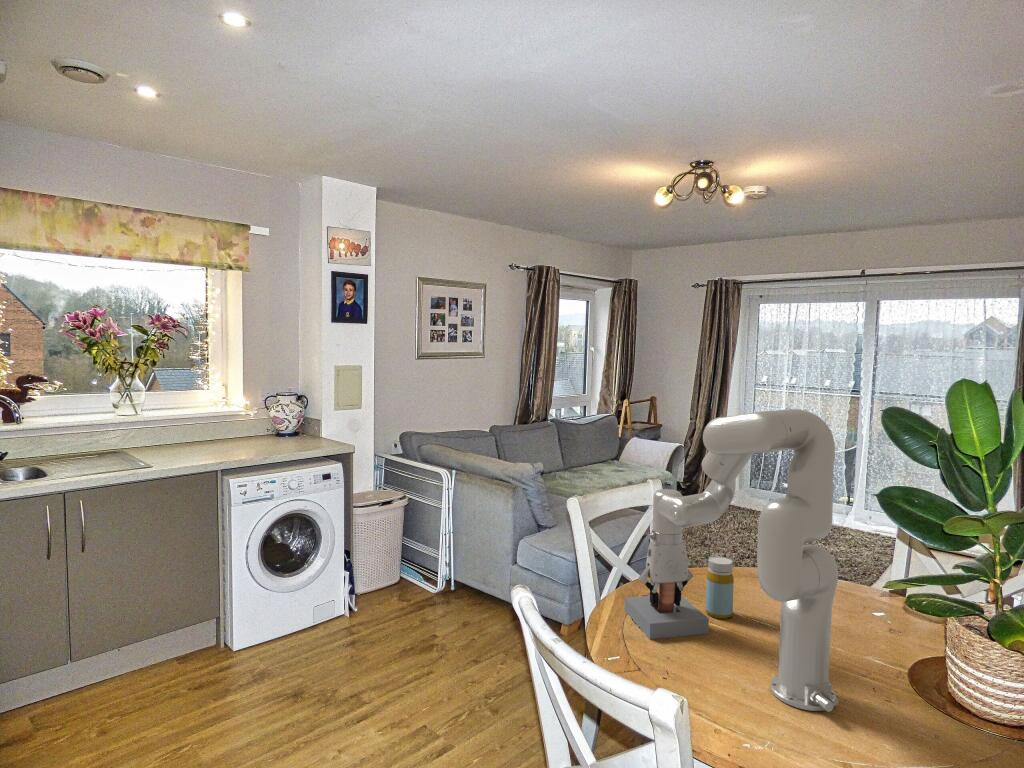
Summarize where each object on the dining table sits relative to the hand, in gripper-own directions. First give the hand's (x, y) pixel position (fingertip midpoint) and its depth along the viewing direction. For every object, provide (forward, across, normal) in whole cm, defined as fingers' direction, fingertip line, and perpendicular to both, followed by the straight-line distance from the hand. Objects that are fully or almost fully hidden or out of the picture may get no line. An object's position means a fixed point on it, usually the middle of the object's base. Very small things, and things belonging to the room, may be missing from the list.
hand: (665, 604), depth 162 cm
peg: (+5, 0, 0) cm, 5 cm away
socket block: (+5, 0, 0) cm, 5 cm away
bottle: (+5, +17, +2) cm, 18 cm away
